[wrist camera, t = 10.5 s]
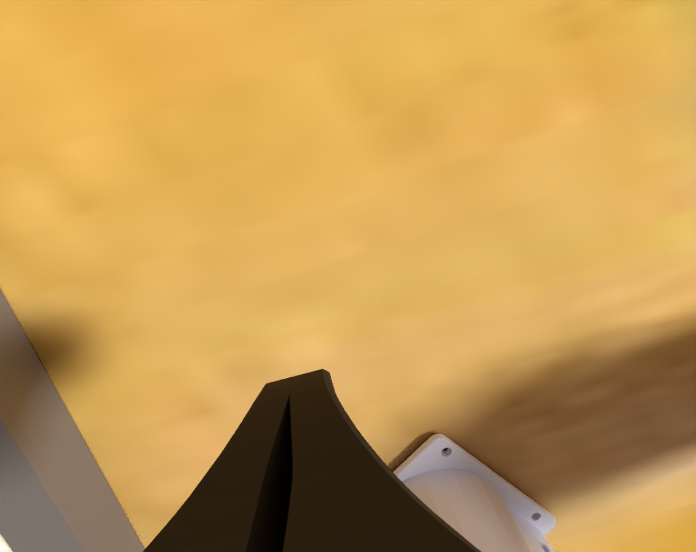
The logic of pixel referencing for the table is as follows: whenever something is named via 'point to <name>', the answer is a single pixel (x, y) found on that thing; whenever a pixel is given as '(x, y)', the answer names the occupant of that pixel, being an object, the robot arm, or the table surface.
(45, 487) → the control strip
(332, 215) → the table surface
